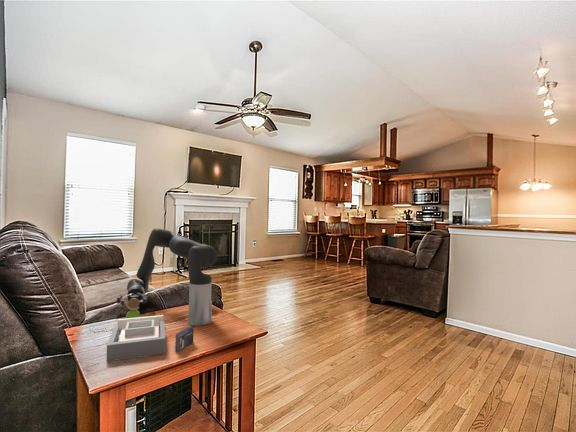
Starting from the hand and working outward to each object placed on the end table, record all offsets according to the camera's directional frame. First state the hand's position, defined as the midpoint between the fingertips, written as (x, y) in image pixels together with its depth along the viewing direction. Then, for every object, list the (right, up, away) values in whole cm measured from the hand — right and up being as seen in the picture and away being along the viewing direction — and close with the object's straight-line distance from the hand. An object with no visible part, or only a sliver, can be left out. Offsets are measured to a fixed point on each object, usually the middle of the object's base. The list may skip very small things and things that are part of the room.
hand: (133, 302), depth 139 cm
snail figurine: (+3, -7, -7) cm, 10 cm away
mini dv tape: (+33, -8, -30) cm, 45 cm away
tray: (+13, -6, -21) cm, 26 cm away
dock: (+17, -7, -29) cm, 34 cm away
